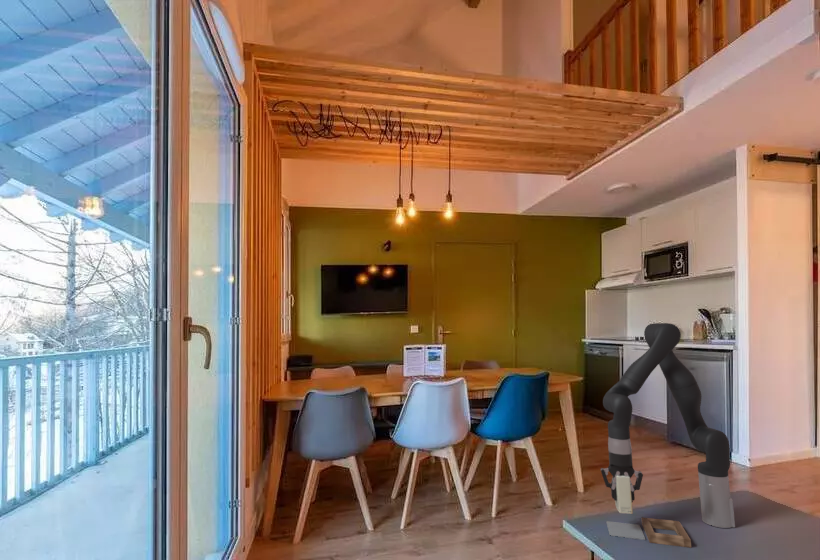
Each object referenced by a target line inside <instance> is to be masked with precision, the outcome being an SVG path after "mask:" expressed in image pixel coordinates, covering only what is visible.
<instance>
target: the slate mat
mask: <svg viewBox="0 0 820 560" xmlns="http://www.w3.org/2000/svg"><path fill="white" fill-rule="evenodd" d="M605 523H606V526H607V530H608V534H609V536H610V535H611V536H610V537H615V536H618V537H617V538H623V537H625V539H632V540H633V539H635V540H641V541H646V537H645V534H644V532H643V530H642V527H641V524H634V523H625V522H617V521H608V520H606V522H605Z"/></svg>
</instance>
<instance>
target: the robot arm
mask: <svg viewBox="0 0 820 560" xmlns="http://www.w3.org/2000/svg"><path fill="white" fill-rule="evenodd" d="M643 335H644V336H643V337H644V340H645V342H646V344H647V346H648V347H649V348H648V350H646V352H644V353H643V354H642V355H641V356H640V357H638V358H637V359H636V360H634V361H633V362H632V363H631V365H629V366H628V367H627V369H626V370H625V372H624V373H623V375H622V376H621V378H620V379H619V381H617V383H615V384H614V385H613V386H612V387H610V389H609V390H607V392H605V394H604V396H603V398H602V405H603V408H604V409H605V410H606V411H608V412H610V413H613V417H612V419H611V420H609V421H608V423H607V433H608V440H607V446H608V448H607V449H608V463H609V464H608V467H606V468H604V467H601V468H600V473H601V476H602V478H603V482H604V484H605V487H606V488H609V489H610V490H611V493H610V494H611V498H612V499H613V501H614V502H615V501H616V489H615V487H616V476H619V475H620V476H625V477H630V486H631V498H632V503H633V502H635V491H639V490H641V485H642V481H643V476H644V474H643V472H642V471H641V470H636V469H634V466H633V448H632V442H631V435H630V425H631V419H632V415H633V404H632V401H631V399H630V398H629V396H631V395H636V394H637V393H639V391H640V390H641V389H642V387H643V385H644V384H645V382H646V381H647V379H648V377H650V375H651V374H652V373H653V371H654V370H655V369H656V368H657V367H658V366H659V367H660V370H661V372H662V374H663V376H664V378H665V380H666V382H667V385H668V387H669V390H670V392H671V394H672V397H673V398H674V401H675V403H676V405H677V407H678V410H679V412H680V415H681V417H682V419H683V422H684V425H685V428H686V432H687V435H688V437H689V440H690V442H691V445H692V446H693V447H694V448H695V449H696V450H698V451H699V452H702V453H705V461H700V462H698V463H697V473H698V475H697V476H698V485H699V487H698V489H699V498H700V512H701V513H700V514H701V520H702V522H703V523H704V524H707V525H710V526H711V525H712V526H711V527H715V528H720V529H721V528H723V529H729V528H736V522H735V513H734V512H735V511H734V509H735V508H734V500H733V498H732V497H731V490H730V477H729V470H730V467H731V454H730V452H731V449H730V441H729V438H728V437H727V435H726V434H725V432H723V431H721V430H718V429H715V428H711V427H709V426H708V425H707V424H706V422H705V419H704V417H703V416H702V412H701V405H702V392H701V389H700V387H699V384H698V382H697V380H696V377H694V374H693V373H692V372H691V371H690V370H689V369H688V367H686V365H684V364H683V363H682V361H681V360H680V359H679V358H678V357H677V356H676V354H675V353H674V351H673V350H674V349H675V347H676V346H677V345H678V344H679V343H680V340H681V338H682V337H681V336H682V333H681V330H680V328H679V327H678V326H677V325H675V324H674V323H669V322H657V323H656V322H655V323H650V324H648V325H646V327H645V329H644V333H643ZM609 473H610V475H611V476H612V478H611V482H609V480H608V477H607V476H608V475H609ZM634 475H635V477H636V479H635V483H634V485H633V482H632V481H631V478H632V477H633V476H634Z"/></svg>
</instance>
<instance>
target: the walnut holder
mask: <svg viewBox="0 0 820 560" xmlns="http://www.w3.org/2000/svg"><path fill="white" fill-rule="evenodd" d="M640 519H641V525H642V528H643V530H644V533H645V535H646V537H647V540H648V542H649V543H650V544H659V545H667V546H672V547H673V546H674V547H683V548H690V549H691V548H692V540H691V538H690V537H689V535H688V533H687V531H686V530H685V528H684V526H683V525H682V523H681V522H680V521H678V520H671V519H661V518H660V519H659V518H653V517H651V518H650V517H641V518H640ZM654 529H657V530H658V529H659V530H667V531H674V532H675V533H676V534H669V533H668V534H667V533H662V532H661V533H658V532H655V531H654Z"/></svg>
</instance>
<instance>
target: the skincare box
mask: <svg viewBox="0 0 820 560" xmlns="http://www.w3.org/2000/svg"><path fill="white" fill-rule="evenodd" d="M630 480H631V478H630V477H625V476H620V475H619V476H616V487H615V489H616V501H615V500H614V503H615V507H616V508H615V509H616V510H617V511H618V512H619V514H628V515H630V514H631V515H632V514H634V513H633V512H634V510H633V502H632V498H631V486H630Z"/></svg>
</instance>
